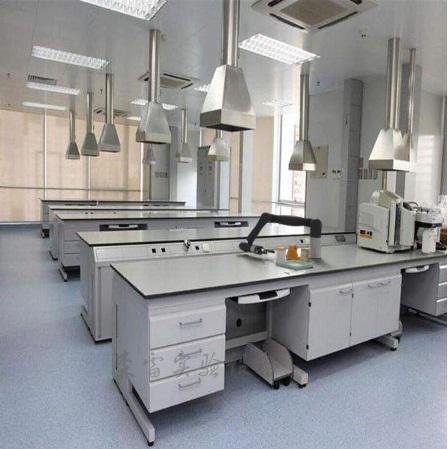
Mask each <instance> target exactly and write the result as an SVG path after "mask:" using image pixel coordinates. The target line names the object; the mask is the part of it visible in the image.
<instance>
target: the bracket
mask: <svg viewBox="0 0 448 449" xmlns="http://www.w3.org/2000/svg"><path fill="white" fill-rule="evenodd" d="M298 249H299V248H298V246H297V245H295V244H290V245H288V249H287V250H286V260H287V259H288V260H299V261H300V258H301V255H299V254H298Z"/></svg>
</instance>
